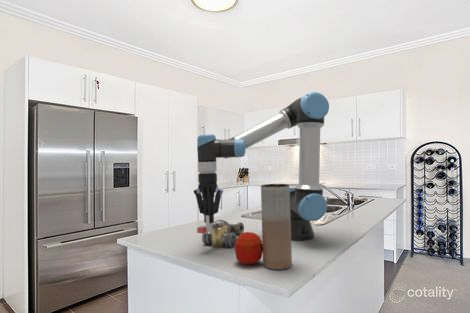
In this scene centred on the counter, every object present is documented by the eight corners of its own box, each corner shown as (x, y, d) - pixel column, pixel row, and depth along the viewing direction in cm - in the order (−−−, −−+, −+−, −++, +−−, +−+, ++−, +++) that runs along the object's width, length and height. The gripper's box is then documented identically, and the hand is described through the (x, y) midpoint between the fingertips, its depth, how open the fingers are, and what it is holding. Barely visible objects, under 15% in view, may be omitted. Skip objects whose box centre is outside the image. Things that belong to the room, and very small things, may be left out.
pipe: (220, 249, 148) (205, 240, 137) (216, 234, 154) (201, 224, 143) (248, 234, 146) (234, 223, 135) (242, 219, 152) (229, 207, 141)
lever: (217, 224, 131) (217, 220, 131) (225, 225, 128) (225, 221, 129) (196, 232, 118) (195, 227, 118) (204, 233, 115) (203, 228, 115)
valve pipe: (237, 245, 128) (236, 226, 128) (229, 249, 121) (229, 230, 121) (210, 241, 134) (209, 224, 134) (201, 245, 128) (201, 227, 128)
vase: (259, 268, 99) (257, 186, 99) (267, 259, 108) (264, 183, 109) (289, 271, 95) (286, 186, 96) (294, 261, 105) (291, 183, 105)
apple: (241, 270, 98) (240, 235, 98) (230, 261, 107) (229, 229, 107) (268, 265, 102) (267, 231, 102) (255, 256, 111) (254, 226, 112)
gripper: (225, 172, 120) (227, 230, 119) (199, 172, 125) (201, 228, 125) (216, 172, 113) (218, 234, 112) (189, 173, 119) (190, 232, 118)
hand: (209, 231), depth 119 cm, fingers closed
